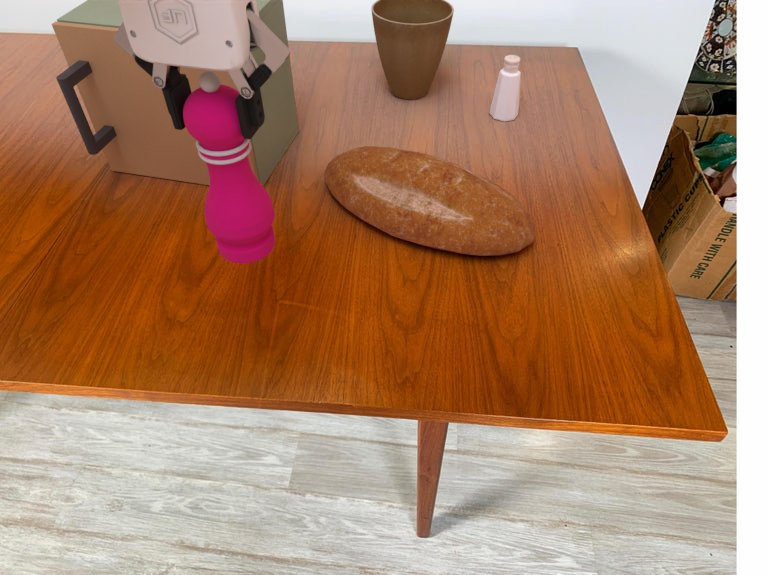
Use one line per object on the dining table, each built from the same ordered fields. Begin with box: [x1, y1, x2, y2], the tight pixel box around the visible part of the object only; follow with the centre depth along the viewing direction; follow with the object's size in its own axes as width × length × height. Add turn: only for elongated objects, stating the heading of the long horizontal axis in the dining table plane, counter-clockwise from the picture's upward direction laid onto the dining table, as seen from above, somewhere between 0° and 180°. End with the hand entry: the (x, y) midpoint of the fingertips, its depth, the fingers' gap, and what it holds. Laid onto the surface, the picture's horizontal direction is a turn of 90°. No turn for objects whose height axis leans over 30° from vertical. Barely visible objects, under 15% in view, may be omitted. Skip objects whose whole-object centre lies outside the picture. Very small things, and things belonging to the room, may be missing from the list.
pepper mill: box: [183, 72, 276, 265], centre depth 57 cm, size 7×7×20 cm
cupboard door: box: [51, 21, 259, 186], centre depth 85 cm, size 7×26×24 cm, turn 76°
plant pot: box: [370, 0, 455, 100], centre depth 110 cm, size 15×15×16 cm
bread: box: [323, 145, 536, 257], centre depth 86 cm, size 18×35×9 cm, turn 57°
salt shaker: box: [488, 54, 522, 122], centre depth 106 cm, size 5×5×11 cm
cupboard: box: [56, 0, 300, 187], centre depth 93 cm, size 18×26×24 cm
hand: (219, 125), depth 54 cm, fingers closed on pepper mill, 6 cm apart
